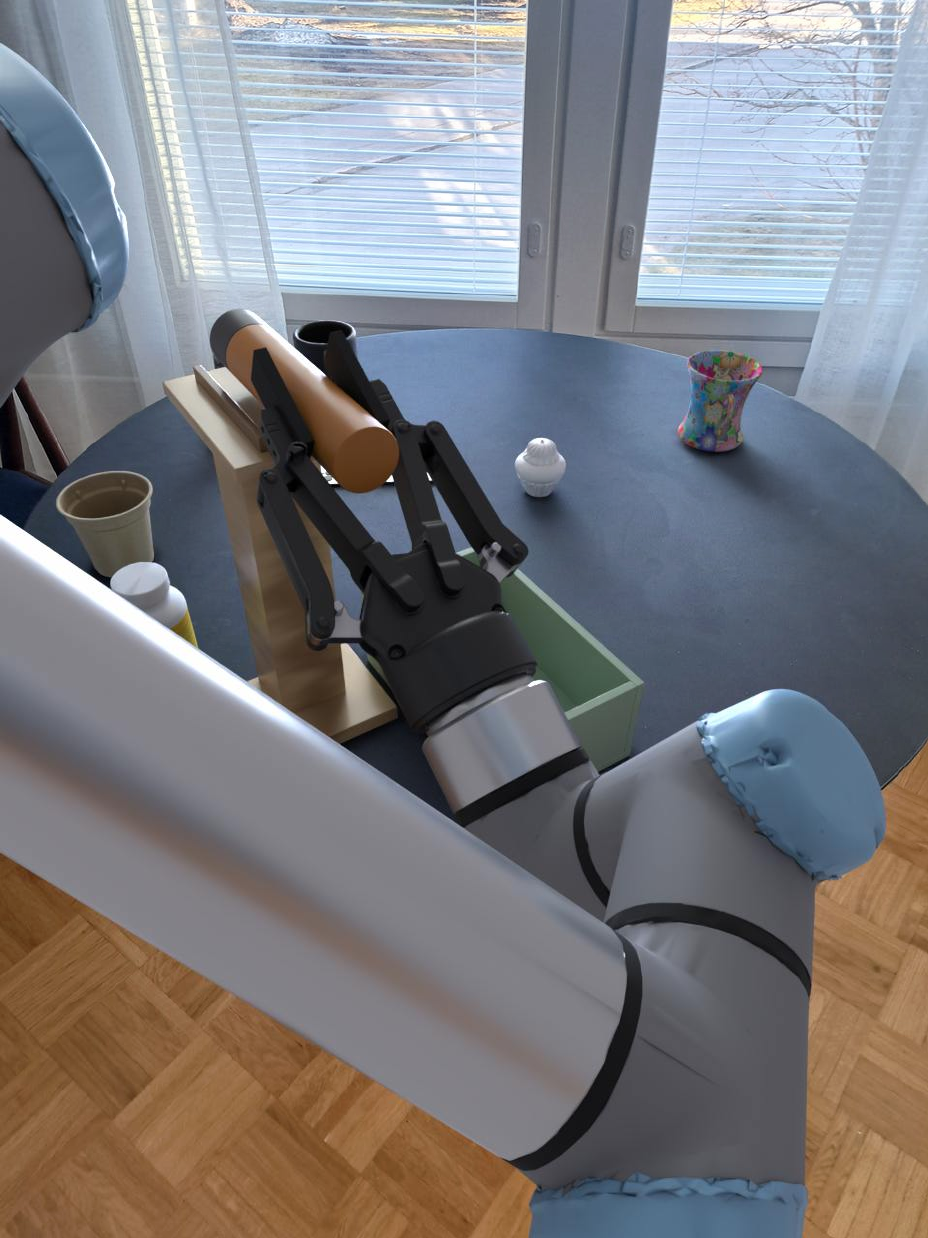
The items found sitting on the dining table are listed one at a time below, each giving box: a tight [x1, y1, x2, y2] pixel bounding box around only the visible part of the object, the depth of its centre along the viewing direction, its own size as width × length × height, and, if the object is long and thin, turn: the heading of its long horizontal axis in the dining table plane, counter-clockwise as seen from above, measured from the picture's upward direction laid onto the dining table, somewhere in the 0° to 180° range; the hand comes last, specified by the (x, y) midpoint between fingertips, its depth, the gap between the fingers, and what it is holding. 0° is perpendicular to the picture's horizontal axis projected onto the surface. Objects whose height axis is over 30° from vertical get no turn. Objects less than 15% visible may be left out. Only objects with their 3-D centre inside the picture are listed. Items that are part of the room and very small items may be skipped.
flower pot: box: [55, 470, 155, 579], centre depth 92 cm, size 9×9×9 cm
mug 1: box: [292, 319, 359, 382], centre depth 126 cm, size 12×9×7 cm
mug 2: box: [677, 349, 764, 453], centre depth 112 cm, size 12×9×11 cm
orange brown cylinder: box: [209, 308, 399, 494], centre depth 53 cm, size 4×19×4 cm, turn 33°
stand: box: [161, 364, 399, 745], centre depth 68 cm, size 12×14×31 cm
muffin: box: [514, 437, 567, 498], centre depth 104 cm, size 6×6×7 cm
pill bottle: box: [109, 562, 199, 649], centre depth 78 cm, size 6×6×12 cm
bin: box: [360, 546, 645, 773], centre depth 76 cm, size 14×23×9 cm, turn 32°
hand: (296, 355), depth 51 cm, fingers closed on orange brown cylinder, 4 cm apart
